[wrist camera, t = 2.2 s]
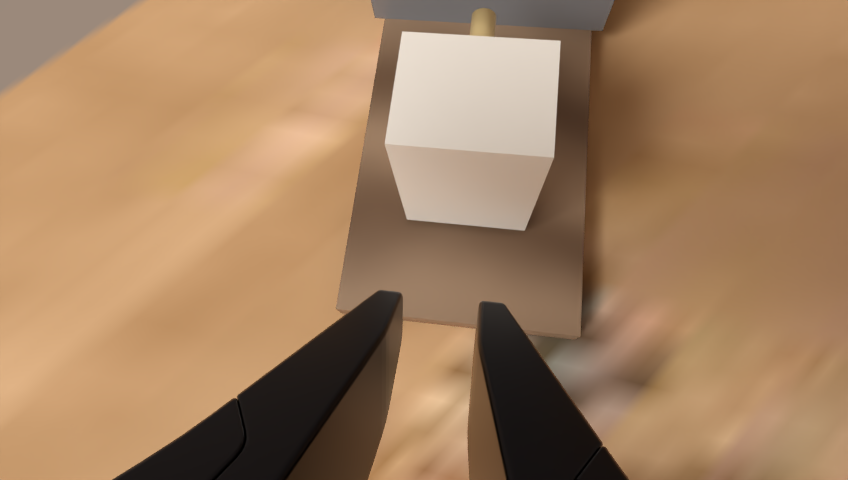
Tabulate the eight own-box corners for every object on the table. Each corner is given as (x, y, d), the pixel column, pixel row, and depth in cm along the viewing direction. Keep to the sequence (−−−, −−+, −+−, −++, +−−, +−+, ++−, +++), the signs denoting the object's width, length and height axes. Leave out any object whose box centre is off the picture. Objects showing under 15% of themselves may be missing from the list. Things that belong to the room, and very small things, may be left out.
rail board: (574, 339, 22) (580, 336, 21) (342, 313, 23) (335, 308, 22) (589, -50, 27) (595, -70, 26) (403, -58, 28) (401, -77, 27)
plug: (524, 230, 22) (554, 157, 15) (406, 219, 22) (384, 144, 15) (534, 96, 23) (564, -22, 17) (424, 89, 24) (411, -30, 17)
